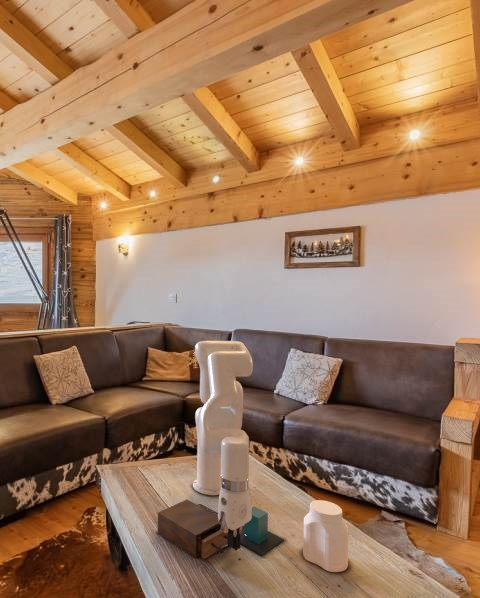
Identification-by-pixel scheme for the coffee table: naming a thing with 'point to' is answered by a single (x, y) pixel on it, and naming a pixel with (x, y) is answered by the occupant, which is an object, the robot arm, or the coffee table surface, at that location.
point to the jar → (326, 536)
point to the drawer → (212, 542)
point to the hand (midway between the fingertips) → (233, 546)
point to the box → (257, 526)
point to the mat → (263, 546)
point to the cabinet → (186, 525)
